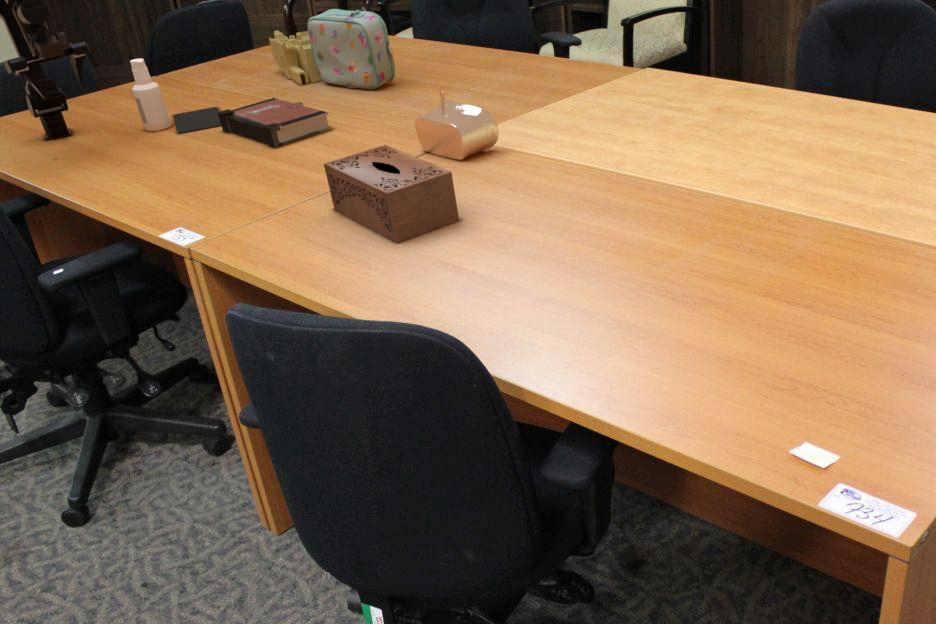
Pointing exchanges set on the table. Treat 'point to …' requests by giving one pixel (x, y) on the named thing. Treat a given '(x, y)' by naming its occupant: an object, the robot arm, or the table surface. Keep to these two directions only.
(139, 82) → the spray bottle
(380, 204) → the tissue box cover
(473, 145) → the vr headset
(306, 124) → the book
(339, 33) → the lunch box
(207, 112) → the pad
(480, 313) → the table surface
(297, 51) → the beige blocky piece
